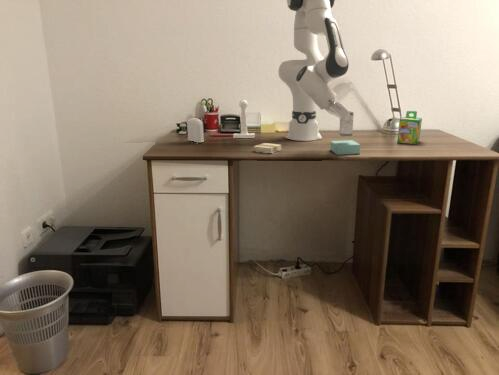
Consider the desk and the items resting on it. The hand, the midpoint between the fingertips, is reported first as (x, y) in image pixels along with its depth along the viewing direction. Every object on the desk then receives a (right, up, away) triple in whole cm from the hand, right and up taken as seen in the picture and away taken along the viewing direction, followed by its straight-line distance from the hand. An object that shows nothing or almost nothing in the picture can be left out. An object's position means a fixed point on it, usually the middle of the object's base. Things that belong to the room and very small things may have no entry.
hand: (347, 121), depth 184 cm
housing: (-1, -6, +2) cm, 6 cm away
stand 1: (-34, -12, +9) cm, 37 cm away
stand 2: (0, -13, +4) cm, 13 cm away
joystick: (-45, -2, +41) cm, 61 cm away
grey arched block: (-70, -6, +31) cm, 77 cm away
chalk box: (+34, -7, +22) cm, 41 cm away
